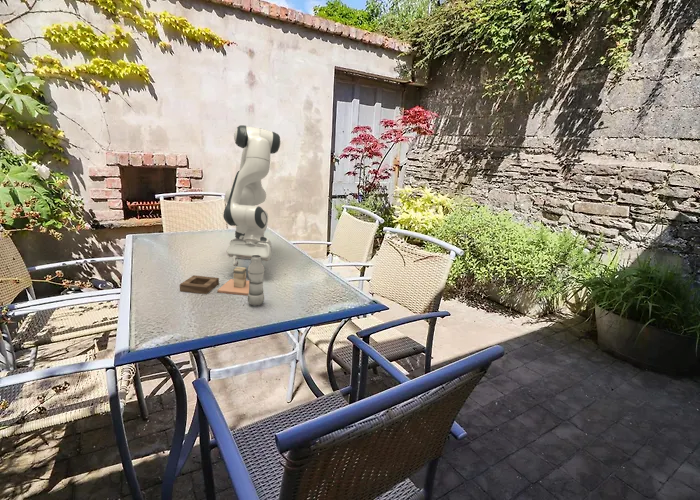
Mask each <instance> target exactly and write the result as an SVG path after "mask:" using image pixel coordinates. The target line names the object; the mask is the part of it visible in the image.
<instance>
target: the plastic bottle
mask: <svg viewBox="0 0 700 500" xmlns="http://www.w3.org/2000/svg"><path fill="white" fill-rule="evenodd" d="M250 261H251V263H250V264H249V265H248V267H247V275H248V281H249V293H248V296H247V303H248V304H249V305H250V306H254V307H257V306H261V305H263V303H264V302H265V294H264V275H265V267H264V265H263V262H262V263H261V262H260V261H261V256H260V255H252V256H251V259H250Z"/></svg>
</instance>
